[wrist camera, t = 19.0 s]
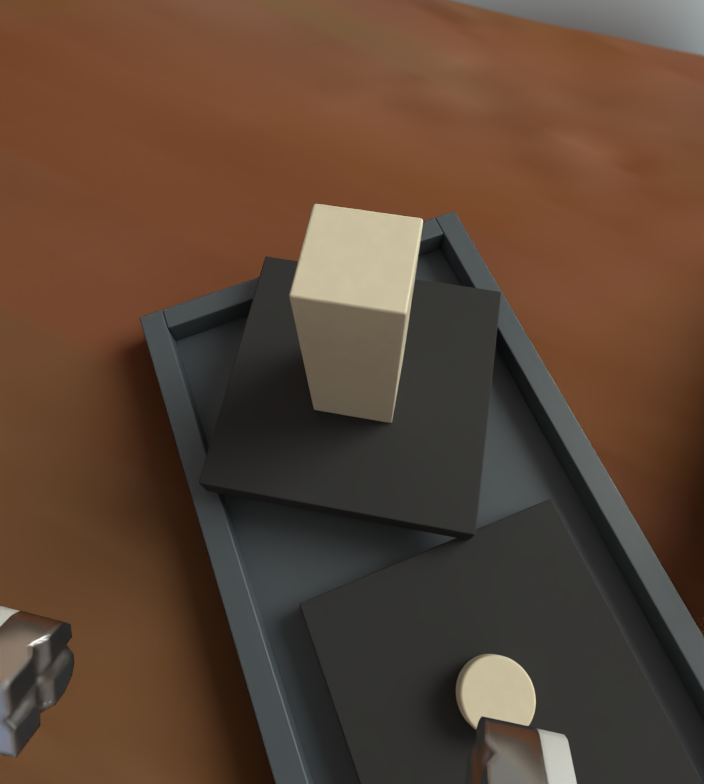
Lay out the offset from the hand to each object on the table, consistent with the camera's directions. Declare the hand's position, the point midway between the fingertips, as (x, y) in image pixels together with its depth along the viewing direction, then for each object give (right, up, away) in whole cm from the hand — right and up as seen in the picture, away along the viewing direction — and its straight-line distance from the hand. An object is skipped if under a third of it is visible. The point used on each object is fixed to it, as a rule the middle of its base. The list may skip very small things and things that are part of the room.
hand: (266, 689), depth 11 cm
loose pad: (+2, +6, +12) cm, 14 cm away
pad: (+6, -5, +9) cm, 12 cm away
